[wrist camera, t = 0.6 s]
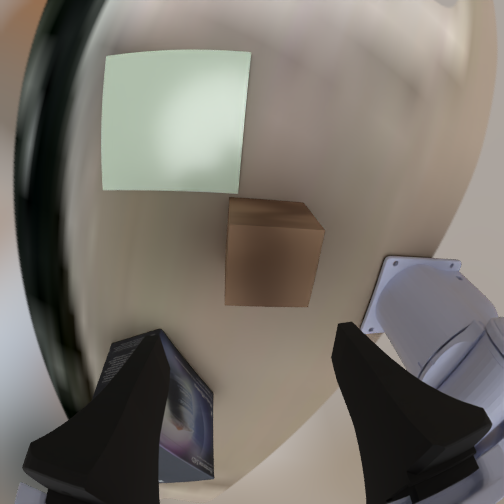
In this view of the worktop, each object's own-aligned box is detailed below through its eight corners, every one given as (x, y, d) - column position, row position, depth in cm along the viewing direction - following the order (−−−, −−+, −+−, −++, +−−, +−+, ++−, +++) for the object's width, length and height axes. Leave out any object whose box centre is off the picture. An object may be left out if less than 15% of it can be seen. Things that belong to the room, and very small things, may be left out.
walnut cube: (303, 202, 20) (325, 230, 15) (292, 266, 22) (308, 307, 17) (229, 196, 19) (229, 224, 15) (225, 263, 21) (224, 305, 17)
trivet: (250, 54, 15) (251, 52, 14) (237, 190, 19) (238, 193, 18) (111, 58, 14) (106, 56, 13) (107, 187, 18) (102, 190, 17)
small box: (218, 392, 28) (219, 481, 19) (167, 403, 29) (158, 484, 19) (163, 325, 23) (140, 432, 14) (108, 343, 24) (76, 435, 15)
